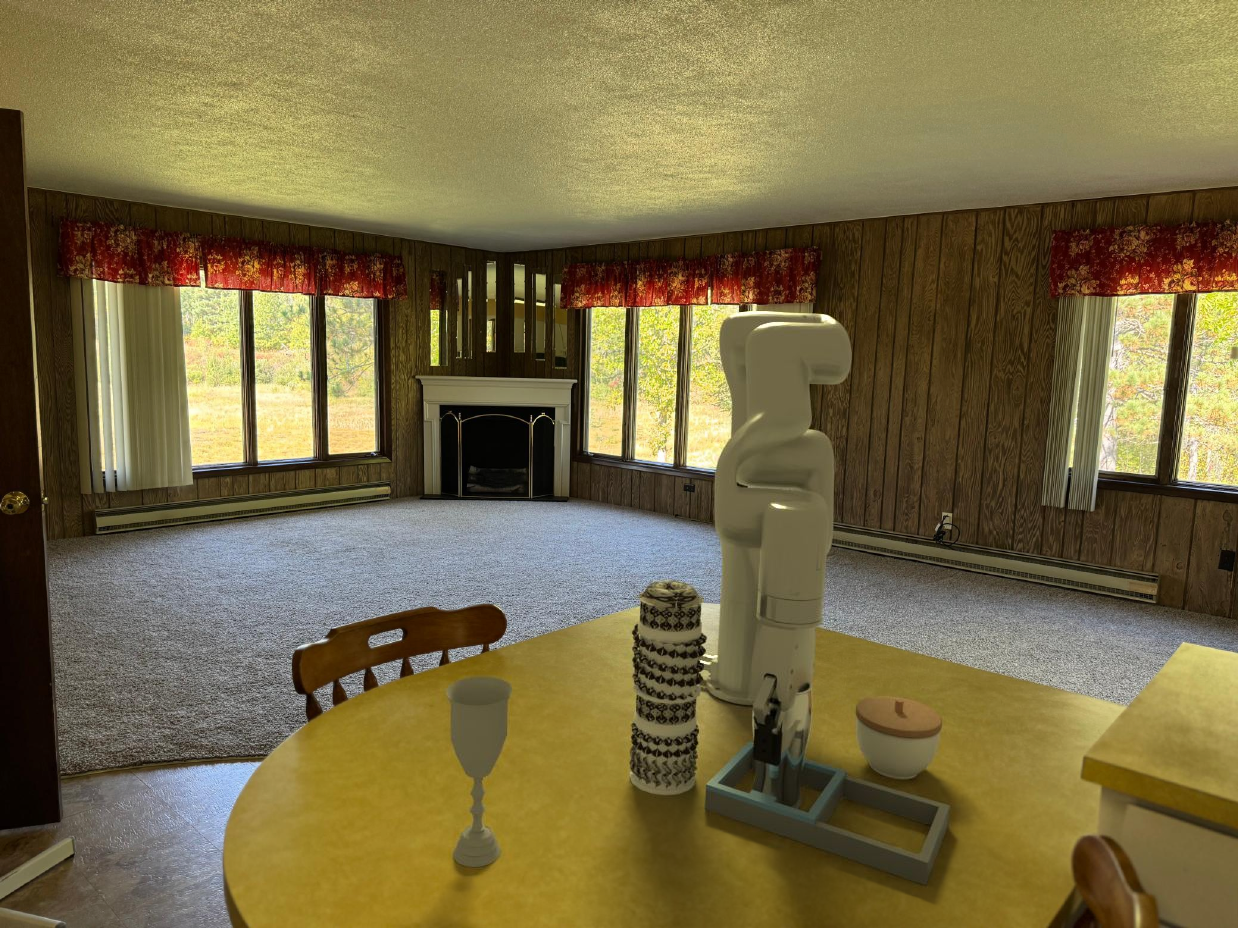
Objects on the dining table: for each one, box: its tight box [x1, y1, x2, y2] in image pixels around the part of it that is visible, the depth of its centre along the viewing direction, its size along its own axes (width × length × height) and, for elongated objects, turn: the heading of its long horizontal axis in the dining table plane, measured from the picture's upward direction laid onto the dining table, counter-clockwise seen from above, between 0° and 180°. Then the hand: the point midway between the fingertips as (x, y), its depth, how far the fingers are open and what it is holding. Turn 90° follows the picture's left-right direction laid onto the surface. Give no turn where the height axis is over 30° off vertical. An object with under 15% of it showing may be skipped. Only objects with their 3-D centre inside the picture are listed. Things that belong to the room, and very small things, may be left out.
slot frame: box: [704, 741, 951, 886], centre depth 96 cm, size 25×13×3 cm, turn 59°
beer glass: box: [751, 681, 813, 810], centre depth 98 cm, size 7×7×15 cm
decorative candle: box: [629, 580, 708, 796], centre depth 102 cm, size 9×9×25 cm
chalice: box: [445, 676, 514, 868], centre depth 86 cm, size 7×7×18 cm
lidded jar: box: [855, 695, 943, 780], centre depth 108 cm, size 11×11×9 cm
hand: (780, 746), depth 98 cm, fingers open, 8 cm apart
